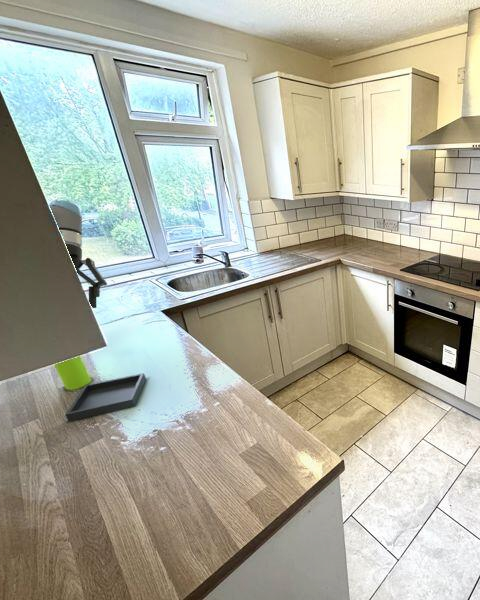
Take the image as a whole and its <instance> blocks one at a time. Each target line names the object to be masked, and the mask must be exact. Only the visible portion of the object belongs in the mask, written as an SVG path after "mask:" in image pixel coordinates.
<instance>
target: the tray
mask: <svg viewBox="0 0 480 600" xmlns="http://www.w3.org/2000/svg"><path fill="white" fill-rule="evenodd" d="M146 381H147V378H146V374H145V373H144V372H142V373H137V374H132V375H127V376H123V377H116V378H112V379H107V380H103V381H98V382H92V383H89V384H87V385H85V386H84V387H82V389H81V390H80V391H79V393H78V395H77V396H76V398H75V399H74V400H73V402H72V403H71V405H70V407H69V409H67V411H66V413H64V416H65V417H66V419H67V422H73V421H77V420H82V419H86V418H90V417H94V416H98V415H104V414H108V413H111V412H116V411H120V410H125V409H130V408H133V407H135V406H136V405H137V403H138V400H139V397H140V395H141V393H142V390H143V388H144V386H145V383H146Z"/></svg>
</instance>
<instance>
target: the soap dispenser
mask: <svg viewBox="0 0 480 600" xmlns="http://www.w3.org/2000/svg"><path fill="white" fill-rule="evenodd" d="M53 365H54V364H53ZM54 368H55V369H56V372H57V373H58V377H59V378H60V380H61V382H62V384H63V386H64V388H65V389H66V390H67V391H73V390H78V389H81V388H83V387H84V386H85V385H87V384H91V382H92V378H91V376H90V374H89V372H88V369H87V367H86V365H85V363H84V360H83V358H82V357H81V355H80V356H79V357H77V358H73V359H70V360H67V361H64V362H61V363H58V364H55V365H54Z"/></svg>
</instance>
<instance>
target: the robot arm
mask: <svg viewBox="0 0 480 600" xmlns="http://www.w3.org/2000/svg"><path fill="white" fill-rule="evenodd" d="M48 206H50V208H51V210H52V213H53V215H54V217H55V220H56V222H57V225H58V227H59V230H60V232H61V234H62V236H63V239H64V241H65V244H66V246H67V249H68V251H69V254H70V256H71V258H72V261H73V263H74V265H75V268H76V270H77V273H78V274H77V273H76V274H77V275H78V276H80V277H81V278H82V279H83V280H85V281H86V282H87V283H88V284H90V285H89V286H88V303H89V302H90V304H91V306H92V307H91V308H92V309H97V298H100V296H101V291H100V289H101V288H102V287H104V286H107V285H108V283H107V281H106V279H105V278H104V276H103V275H102V274H101V272H100V271H99V270H98V269H97V267H96V265H95V261H94V260H93V259H92V258H90V257H87V258H85V259H83V249H82V248H83V239H82V238H83V216H82V209H81V207H80V206H79V205H78V204H77V203H75V202H72V201H69V200H63V199H60V200H57V199H55V200H52V201H50V202H49V205H48ZM83 266H86V267H87V269H88V270H89V271H90V272H91V274H92V276H93V277H94V278H95V279H96V281H95V280H94V279H93V278H92V277H91V276H89V275H88V274H86V273H85V272H84V271H83V270H82V269H81V268H82V267H83Z"/></svg>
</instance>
